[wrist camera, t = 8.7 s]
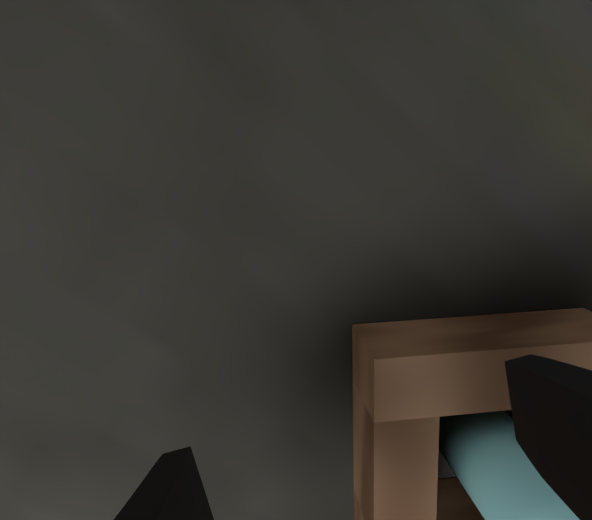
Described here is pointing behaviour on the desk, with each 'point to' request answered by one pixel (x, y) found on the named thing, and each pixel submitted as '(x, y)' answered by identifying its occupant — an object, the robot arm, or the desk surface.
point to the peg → (497, 469)
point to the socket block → (439, 399)
